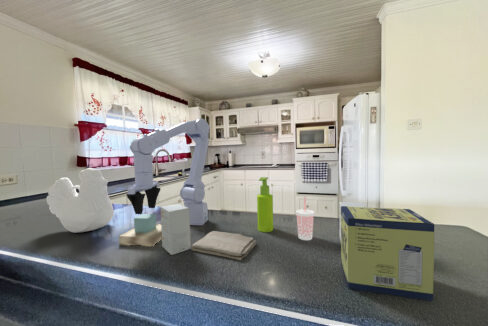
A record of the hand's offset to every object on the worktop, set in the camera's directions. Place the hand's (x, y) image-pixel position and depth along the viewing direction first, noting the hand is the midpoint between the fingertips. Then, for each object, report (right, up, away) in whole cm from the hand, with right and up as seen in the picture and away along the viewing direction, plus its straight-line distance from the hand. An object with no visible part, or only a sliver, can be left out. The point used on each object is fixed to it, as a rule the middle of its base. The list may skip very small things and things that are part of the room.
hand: (145, 210), depth 75 cm
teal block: (0, -7, 0) cm, 7 cm away
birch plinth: (0, -10, +1) cm, 10 cm away
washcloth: (+28, -10, -8) cm, 31 cm away
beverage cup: (+55, -9, -2) cm, 56 cm away
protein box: (+65, -10, -27) cm, 71 cm away
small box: (+13, -10, -8) cm, 18 cm away
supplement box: (+69, -9, -8) cm, 70 cm away
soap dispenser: (+43, -9, +6) cm, 44 cm away
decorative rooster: (-31, -10, +12) cm, 35 cm away
